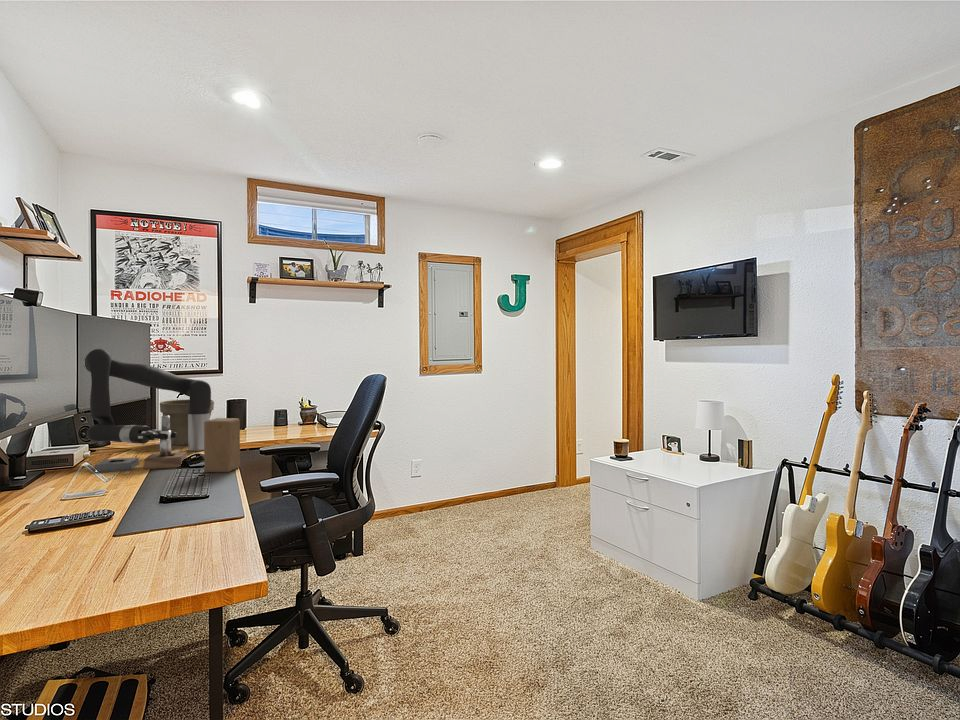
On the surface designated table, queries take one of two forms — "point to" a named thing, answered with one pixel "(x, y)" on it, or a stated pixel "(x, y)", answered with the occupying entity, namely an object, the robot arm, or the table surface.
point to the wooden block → (221, 444)
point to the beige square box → (164, 460)
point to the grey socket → (117, 464)
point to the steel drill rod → (165, 443)
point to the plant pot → (178, 418)
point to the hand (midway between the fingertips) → (171, 435)
